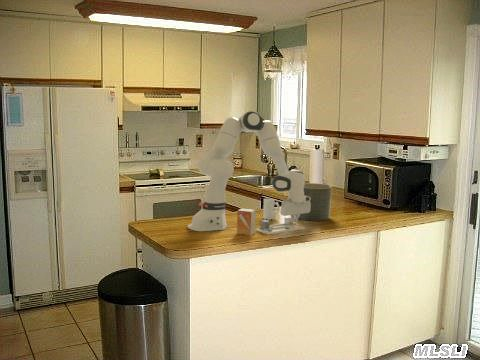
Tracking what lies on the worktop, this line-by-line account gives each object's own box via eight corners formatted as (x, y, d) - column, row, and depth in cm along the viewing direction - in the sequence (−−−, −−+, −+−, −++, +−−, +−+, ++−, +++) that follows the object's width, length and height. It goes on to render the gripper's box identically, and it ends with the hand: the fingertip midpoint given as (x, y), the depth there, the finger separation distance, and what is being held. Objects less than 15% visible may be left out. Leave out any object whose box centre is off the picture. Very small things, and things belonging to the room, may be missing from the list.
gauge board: (268, 234, 269) (268, 223, 269) (256, 230, 278) (257, 220, 277) (299, 229, 282) (299, 219, 281) (287, 226, 290) (287, 216, 289)
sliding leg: (294, 228, 280) (294, 220, 279) (284, 224, 287) (284, 217, 286) (298, 227, 282) (298, 219, 281) (288, 224, 288) (288, 216, 288)
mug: (261, 219, 307) (262, 199, 305) (264, 217, 313) (265, 198, 312) (277, 220, 304) (278, 201, 302) (280, 218, 310) (281, 199, 308)
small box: (236, 234, 269) (237, 210, 268) (240, 231, 275) (241, 208, 273) (250, 235, 266) (251, 211, 265) (254, 233, 272) (255, 209, 270)
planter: (336, 217, 317) (338, 186, 314) (317, 223, 301) (318, 189, 298) (307, 212, 332) (309, 182, 329) (287, 217, 315) (288, 185, 313)
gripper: (285, 200, 278) (284, 224, 280) (312, 197, 290) (311, 221, 292) (278, 198, 283) (277, 222, 285) (305, 195, 295) (304, 219, 297)
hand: (295, 221), depth 289 cm, fingers closed
